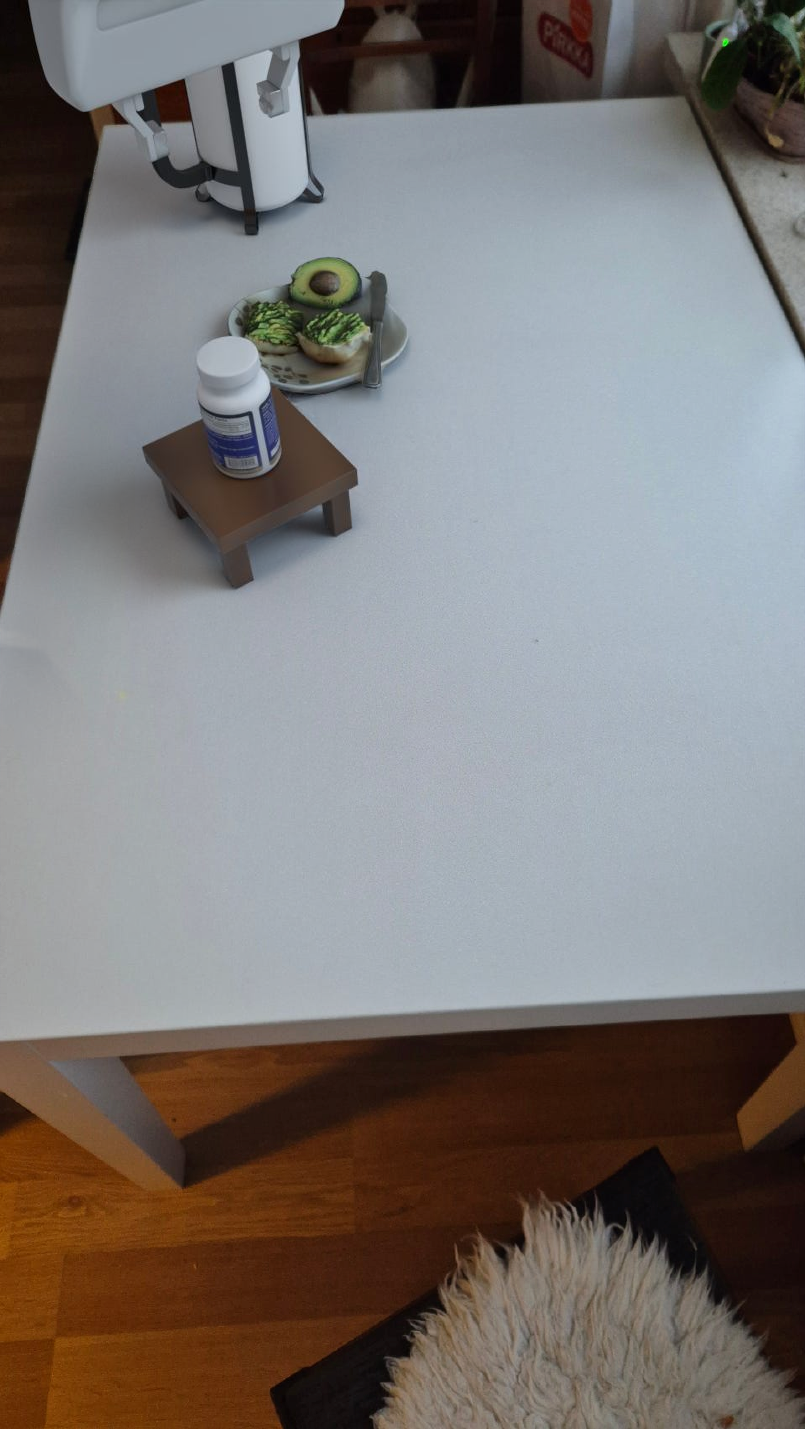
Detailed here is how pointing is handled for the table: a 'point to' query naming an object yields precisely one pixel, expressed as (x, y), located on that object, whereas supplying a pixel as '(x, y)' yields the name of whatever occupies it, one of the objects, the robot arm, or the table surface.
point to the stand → (254, 486)
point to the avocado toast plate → (322, 328)
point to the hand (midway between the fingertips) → (216, 133)
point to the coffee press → (242, 140)
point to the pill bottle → (237, 408)
